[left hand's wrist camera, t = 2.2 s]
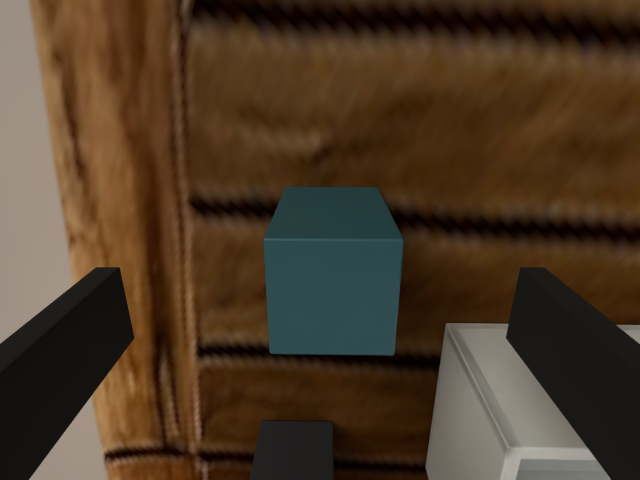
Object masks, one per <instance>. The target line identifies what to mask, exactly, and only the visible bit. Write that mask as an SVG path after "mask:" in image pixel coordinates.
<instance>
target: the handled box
mask: <svg viewBox="0 0 640 480" xmlns="http://www.w3.org/2000/svg"><path fill="white" fill-rule="evenodd" d="M617 326H618V327H619V328H620V329H622V330H623V331H624V332H625V333H627V334H628V335H629V336H630V337H632V338H633V339H634V340H635V341H637V342H638V343H639V344H640V325H617ZM507 329H508V324H490V323H446V325H445V332H444V339H443V347H442V354H441V361H440V368H439V375H438V382H437V389H436V396H435V403H434V410H433V417H432V425H431V432H430V439H429V446H428V453H427V460H426V471H427V474H428V478H429V480H611V479H610V477H609V476H608V475H607V473H606V472H605V471H604V469H603V468H602V467H601V465H600V464H599V463H598V461H597V460H596V459H595V457H594V456H593V455H592V453H591V452H590V451H589V449H588V448H587V447H586V445H585V444H584V443H583V441H582V440H581V438H580V437H579V436H578V434H577V433H576V432H575V430H574V429H573V428H572V426H571V425H570V424H569V422H568V421H567V420H566V418H565V417H564V416H563V414H562V413H561V412H560V410H559V409H558V408H557V406H556V405H555V404H554V402H553V401H552V400H551V398H550V397H549V396H548V394H547V393H546V392H545V390H544V389H543V387H542V386H541V385H540V383H539V382H538V381H537V379H536V378H535V377H534V375H533V374H532V373H531V371H530V370H529V369H528V367H527V366H526V365H525V363H524V362H523V361H522V359H521V358H520V357H519V355H518V354H517V353H516V351H515V350H514V349H513V347H512V346H511V345H510V343H509V342H508V340H507V339H506V334H507Z"/></svg>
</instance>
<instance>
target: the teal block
mask: <svg viewBox="0 0 640 480" xmlns="http://www.w3.org/2000/svg"><path fill="white" fill-rule="evenodd" d="M263 245H264V262H265V279H266V297H267V314H268V331H269V348H270V353H271V354H324V355H394V353H395V342H396V330H397V319H398V307H399V295H400V284H401V272H402V260H403V249H404V239H403V237H402V235H401V233H400V231H399V229H398V227H397V225H396V223H395V221H394V219H393V217H392V215H391V213H390V211H389V209H388V207H387V205H386V203H385V201H384V199H383V197H382V195H381V193H380V191H379V189H378V188H377V187H286V188H285V190H284V192H283V195H282V197H281V199H280V202H279V204H278V206H277V209H276V211H275V213H274V216H273V218H272V220H271V223H270V225H269V227H268V230H267V232H266V235H265V237H264V239H263Z"/></svg>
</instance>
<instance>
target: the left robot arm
mask: <svg viewBox="0 0 640 480" xmlns="http://www.w3.org/2000/svg"><path fill="white" fill-rule="evenodd" d="M133 339H134V334H133V329H132V324H131V320H130V315H129V310H128V305H127V301H126V296H125V291H124V286H123V282H122V277H121V272H120V267H96V268H95V269H94V270H92V271H91V272H90V273H89V274H87V275H86V276H85V277H83V278H82V279H81V280H80V281H78V282H77V283H76V284H75V285H73V286H72V287H71V288H70V289H68V290H67V291H66V292H65V293H63V294H62V295H61V296H60V297H59V298H57V299H56V300H55V301H53V302H52V303H51V304H50V305H48V306H47V307H46V308H45V309H43V310H42V311H41V312H40V313H38V314H37V315H36V316H35V317H33V318H32V319H31V320H30V321H28V322H27V323H26V324H25V325H23V326H22V327H21V328H20V329H18V330H17V331H16V332H15V333H13V334H12V335H11V336H10V337H8V338H7V339H6V340H5V341H3V342H2V343H1V344H0V480H29V479H30V477H31V476H32V475H33V473H34V472H35V471H36V469H37V468H38V467H39V465H40V464H41V463H42V461H43V460H44V459H45V457H46V456H47V455H48V453H49V452H50V451H51V449H52V448H53V447H54V445H55V444H56V443H57V441H58V440H59V438H60V437H61V436H62V434H63V433H64V432H65V430H66V429H67V428H68V426H69V425H70V424H71V422H72V421H73V420H74V418H75V417H76V416H77V414H78V413H79V412H80V410H81V409H82V408H83V406H84V405H85V404H86V402H87V401H88V400H89V398H90V397H91V396H92V394H93V393H94V391H95V390H96V389H97V387H98V386H99V385H100V383H101V382H102V381H103V379H104V378H105V377H106V375H107V374H108V373H109V371H110V370H111V369H112V367H113V366H114V365H115V363H116V362H117V361H118V359H119V358H120V357H121V355H122V354H123V353H124V351H125V350H126V349H127V347H128V346H129V345H130V343H131V342H132V340H133ZM506 339H507V340H508V342H509V343H510V345H511V346H512V347H513V349H514V350H515V351H516V353H517V354H518V355H519V357H520V358H521V359H522V361H523V362H524V363H525V365H526V366H527V367H528V369H529V370H530V371H531V373H532V374H533V375H534V377H535V378H536V379H537V381H538V382H539V383H540V385H541V386H542V387H543V389H544V390H545V392H546V393H547V394H548V396H549V397H550V398H551V400H552V401H553V402H554V404H555V405H556V406H557V408H558V409H559V410H560V412H561V413H562V414H563V416H564V417H565V418H566V420H567V421H568V422H569V424H570V425H571V426H572V428H573V429H574V430H575V432H576V433H577V434H578V436H579V437H580V438H581V440H582V441H583V443H584V444H585V445H586V447H587V448H588V449H589V451H590V452H591V453H592V455H593V456H594V457H595V459H596V460H597V461H598V463H599V464H600V465H601V467H602V468H603V469H604V471H605V472H606V473H607V475H608V476H609V477H610V479H611V480H640V344H639V343H638V342H637V341H635V340H634V339H633V338H632V337H630V336H629V335H628V334H627V333H625V332H624V331H623V330H622V329H620V328H619V327H618V326H617V325H615V324H614V323H613V322H612V321H610V320H609V319H608V318H607V317H605V316H604V315H603V314H602V313H600V312H599V311H598V310H597V309H595V308H594V307H593V306H592V305H590V304H589V303H588V302H587V301H585V300H584V299H583V298H582V297H580V296H579V295H578V294H577V293H575V292H574V291H573V290H572V289H570V288H569V287H568V286H567V285H565V284H564V283H563V282H562V281H560V280H559V279H558V278H557V277H555V276H554V275H553V274H551V273H550V272H549V271H548V270H546V269H545V268H544V267H520V272H519V277H518V282H517V286H516V291H515V296H514V301H513V305H512V310H511V315H510V320H509V324H508V329H507V334H506Z"/></svg>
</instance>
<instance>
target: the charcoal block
mask: <svg viewBox="0 0 640 480" xmlns="http://www.w3.org/2000/svg"><path fill="white" fill-rule="evenodd" d="M250 480H334V463H333V422H327V421H261V426H260V431H259V436H258V441H257V446H256V451H255V456H254V461H253V466H252V471H251V476H250Z"/></svg>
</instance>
